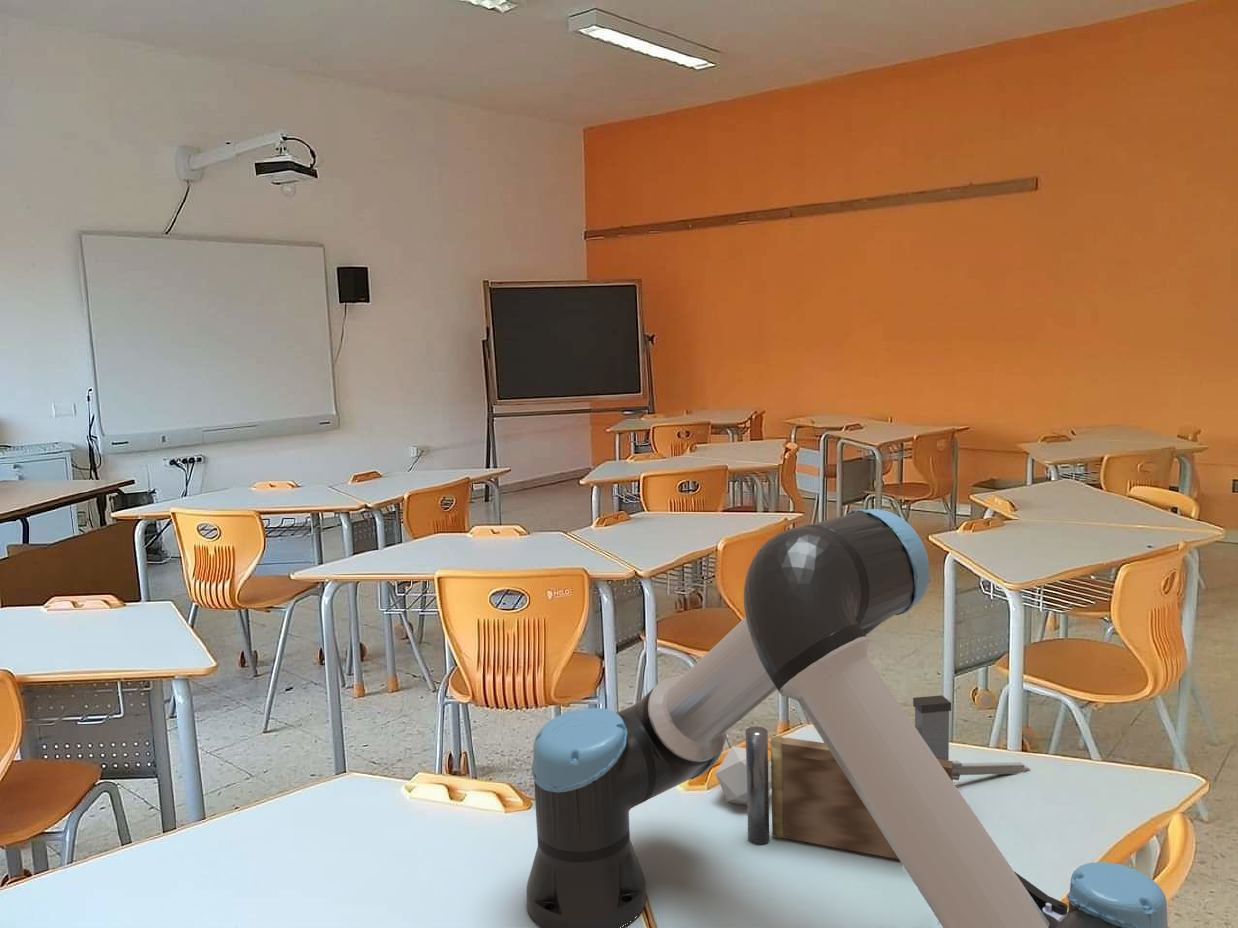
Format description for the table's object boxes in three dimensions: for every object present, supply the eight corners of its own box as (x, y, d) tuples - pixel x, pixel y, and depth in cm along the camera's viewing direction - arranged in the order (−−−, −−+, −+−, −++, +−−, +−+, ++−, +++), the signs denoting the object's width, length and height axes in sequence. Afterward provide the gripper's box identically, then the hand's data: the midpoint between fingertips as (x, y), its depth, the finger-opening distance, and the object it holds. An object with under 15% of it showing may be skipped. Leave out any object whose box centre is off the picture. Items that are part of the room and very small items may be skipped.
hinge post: (750, 845, 128) (748, 736, 125) (745, 834, 130) (743, 727, 128) (772, 843, 128) (770, 734, 126) (766, 832, 131) (764, 725, 129)
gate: (770, 835, 129) (768, 741, 127) (774, 828, 131) (772, 735, 129) (950, 869, 119) (951, 767, 117) (951, 861, 121) (952, 761, 119)
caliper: (921, 798, 139) (922, 758, 138) (917, 795, 140) (917, 755, 139) (1030, 771, 146) (1031, 733, 145) (1025, 768, 147) (1026, 730, 146)
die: (783, 796, 142) (755, 737, 146) (786, 794, 134) (757, 732, 138) (735, 819, 142) (708, 759, 145) (735, 818, 134) (707, 755, 137)
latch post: (920, 818, 133) (921, 705, 130) (912, 808, 136) (913, 697, 133) (949, 815, 133) (951, 702, 131) (941, 806, 136) (942, 695, 134)
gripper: (987, 1009, 91) (892, 873, 114) (1110, 995, 92) (992, 863, 116) (988, 940, 90) (892, 817, 113) (1113, 926, 91) (993, 807, 115)
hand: (943, 840), depth 115 cm, fingers closed
